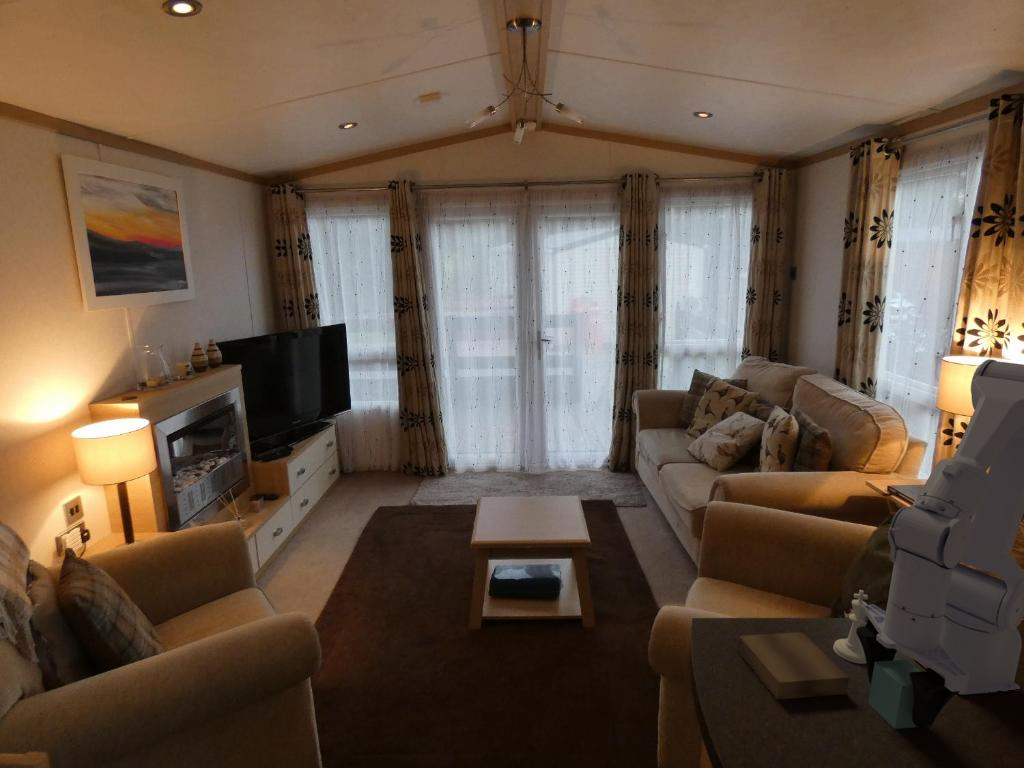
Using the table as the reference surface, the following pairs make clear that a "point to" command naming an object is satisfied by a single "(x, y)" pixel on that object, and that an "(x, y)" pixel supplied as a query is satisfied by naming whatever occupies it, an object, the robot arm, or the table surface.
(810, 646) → the walnut base
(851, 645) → the chess piece
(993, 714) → the table surface
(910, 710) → the teal block
